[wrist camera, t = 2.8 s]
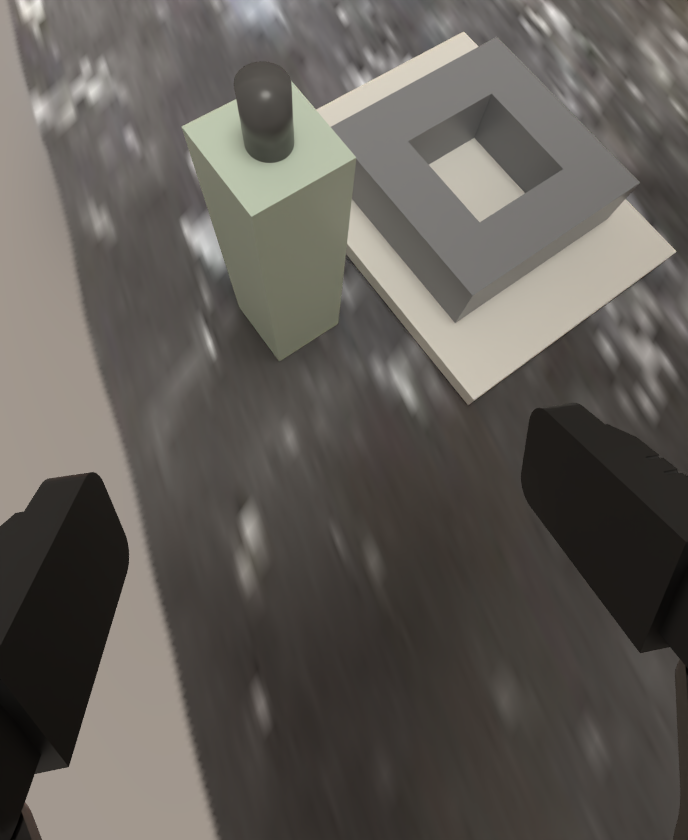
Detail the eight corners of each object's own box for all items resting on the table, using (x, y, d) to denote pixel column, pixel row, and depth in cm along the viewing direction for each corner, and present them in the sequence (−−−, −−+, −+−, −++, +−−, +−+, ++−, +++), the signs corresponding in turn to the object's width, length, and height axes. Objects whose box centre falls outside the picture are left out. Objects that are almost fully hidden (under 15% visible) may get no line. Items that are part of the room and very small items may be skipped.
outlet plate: (664, 261, 29) (717, 218, 25) (468, 405, 26) (494, 381, 22) (459, 46, 33) (478, -21, 29) (263, 151, 29) (255, 92, 26)
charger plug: (338, 323, 27) (362, 101, 13) (279, 361, 26) (241, 166, 13) (297, 271, 28) (281, 9, 14) (239, 306, 27) (162, 66, 13)
